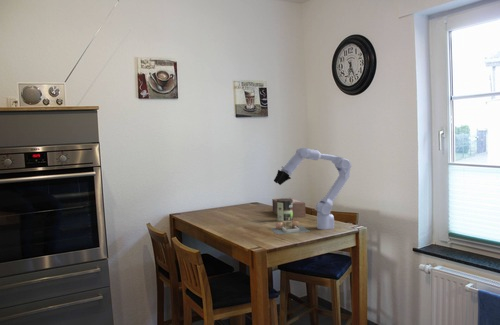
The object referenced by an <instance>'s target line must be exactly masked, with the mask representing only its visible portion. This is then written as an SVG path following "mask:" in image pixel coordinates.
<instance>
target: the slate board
mask: <svg viewBox="0 0 500 325" xmlns="http://www.w3.org/2000/svg"><path fill="white" fill-rule="evenodd" d="M269 229H270V230H271V231H272V232H273V233H275V235H288V234H297V233H299V234H300V233H301V234H302V233H310V232H312V231H311V230H309V229H308V228H306V227H305V226H303V225H299V229H300V231H299V232H287V233H286V232H285V231H283V230H282V229H281V230H278V229H276V227H269ZM292 229H294V228H292ZM286 230H288V229H286Z"/></svg>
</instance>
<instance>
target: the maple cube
mask: <svg viewBox="0 0 500 325" xmlns="http://www.w3.org/2000/svg"><path fill="white" fill-rule="evenodd" d="M282 223H283V227H284V228H285V229H292V221H282Z"/></svg>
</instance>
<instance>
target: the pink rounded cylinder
mask: <svg viewBox="0 0 500 325" xmlns="http://www.w3.org/2000/svg"><path fill="white" fill-rule="evenodd" d="M291 222H292V228H294V226H296V227H298V228H299V226H300V225H299V224H300V223H299V222H300V221H298V220H292V221H291Z"/></svg>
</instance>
